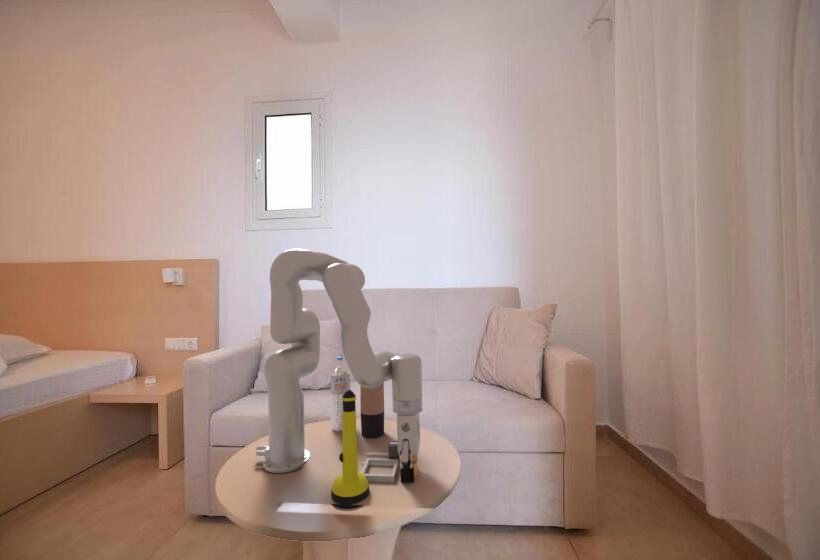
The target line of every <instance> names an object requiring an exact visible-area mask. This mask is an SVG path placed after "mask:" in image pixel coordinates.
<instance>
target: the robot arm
mask: <svg viewBox="0 0 820 560" xmlns="http://www.w3.org/2000/svg"><path fill="white" fill-rule="evenodd" d="M300 281H317V282H318V281H319V282H321V283H322V284H323V287H324V290H325V291H326V294H327V296H328V298H329V300H330V303H331V305H332V307H333V309H334V311H335V313H336V316H337V318H338V320H339V323H340V326H341V331H340V332H341V334H340V336H341V337H340V338H341V346H342V348H341V349H342V352H343V356H344V357H343V358H344V359H345V363H346V364H347V365H348V366H349V369H350V374H351V375H352V377H353V378H354V380H355V381H356V383H357V384H358V385H359V386H362V387H364V388H367V389H373V388H376V387H378V386H379V385H381V384H382V383H383V382H384V383H385V382H387V381H390V380H391V383H392V384H391V390H392V392H391V393H392V412H393V413H395V414H396V421H397V422H396V423H397V424H396V434H397V435H396V437H397V442H398V454H399V455H400V456H401V477H400V483H405V484H407V483H408V484H410V483H411V484H414V483H415V478H414V467H413V456H417V457H418V455H419V452H420V447H421V431H420V429H421V428H420V425H421V423H420V414H421V412H423V382H422V380H423V377H422V376H423V375H422V374H423V373H422V372H423V371H422V365H423V363H422V359H421V357H420V356H419V355H418V354H414V353H401V354H400V353H394V352H392V351H391V352H389V351H385V350H384V351H377V352H374V351H373V348H372V345H371V343H370V340H369V335H368V327H369V323H370V319H371V315H372V312H371V308H370V306H369V304H368V302H367V300H366V298H365V296H364V293H363V292H362V289H363V288H364V286H365V283H366V276H365V274H364V272H363V270H362V268H360V267H359V266H357V265H355V264H352V263H350V262H348V261H345V260H342V259H340V258H337V257H335V256H333V255H330V254H329V253H328V254H327V253H325V252H320V251H315V250H314V251H313V250H309V249H305V248H304V249H303V248H292V249H288V250H287V249H286V250H284V251H283V252H281V253H280V254H278V255H277V256H276V257H275V258H274V260H273V262H272V264H271V266H270V270H269V284H270V321H269V322H270V327H269V329H270V330H269V331H270V336H271V339H272V340H273V341H274V342H275V343H276V344H279V345H289V344H290V345H291V346H289V347H285V348H282V349H278V350H277V351H275V352H273V353H271V354H270V355H269V356H268V357H267V359H265V362H264V365H263V373H264V379H265V383H266V389H267V407H268V408H267V409H268V411H267V412H268V416H267V417H268V445H265V444H258V445H257V446H256V450H255V451H256V452H255V455H256V457H257V456H258V457H259V456H260V457H264V459H263V461H262V468H263V469H264V470H265V471H266V472H269V473H274V474H285V473H289V472H294V471H297V470H300V469H302V468H303V467H304V466H305V465H306V464H307V462H308V461H309V460H310V458H311V452H310V451H309V450H308V449H306V448H305V447H306V444H305V441H306V440H305V436H306V435H305V395H304V394H305V393H304V391H303V388H302V385H301V383H300V379H301V378H303V377H306V376H308V375H310V374H312V373H313V372H314V371H316V369H317V368H318V366H319V363H320V355H321V354H320V353H321V352H320V351H321V349H320V347H321V345H320V344H321V343H320V342H321V324H320V321H319V317H318V315H317V314H316V313H315V312H314V311H313V310H311V309H309V308H303V307H304V305H303V303H304V301H303V300H304V297H303V296H304V295H303V291H302V288H301V286H300V283H299V282H300ZM408 452H411V454H408ZM408 457H410V460H408Z"/></svg>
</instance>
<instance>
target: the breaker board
mask: <svg viewBox="0 0 820 560" xmlns="http://www.w3.org/2000/svg"><path fill="white" fill-rule="evenodd" d="M366 456H367V458H366V459H365V461H362V465H363V467H362V468H361V471H360V472H361V473H363V474H364V475H365V477H366V479H367V481H368V482H381V483H382V482H383V483H384V482H385V483H395V480H396V476H397V474H398V473H397V472H398V468H399V466H400V463H399V459H389V458H373V457H389V452H367V453H366ZM371 457H372V458H371ZM369 466H381V467H383V466H386V467H393V468H392V471H391V474H387V473H386V474H385V473H367V472H368V469H369Z"/></svg>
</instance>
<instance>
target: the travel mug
mask: <svg viewBox="0 0 820 560" xmlns="http://www.w3.org/2000/svg"><path fill="white" fill-rule="evenodd" d="M384 383H385V382H383V383H382V384H381V385H379V386H378V387H376V388H373V389H367V388H364V387H362V386H360V385H359V386H360V387H359V389H360V396H359V397H360V428H361V436H362V437H363V438H364V439H373V440H374V439H379V438H381V437H382V436H384V434H385V384H384Z"/></svg>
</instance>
